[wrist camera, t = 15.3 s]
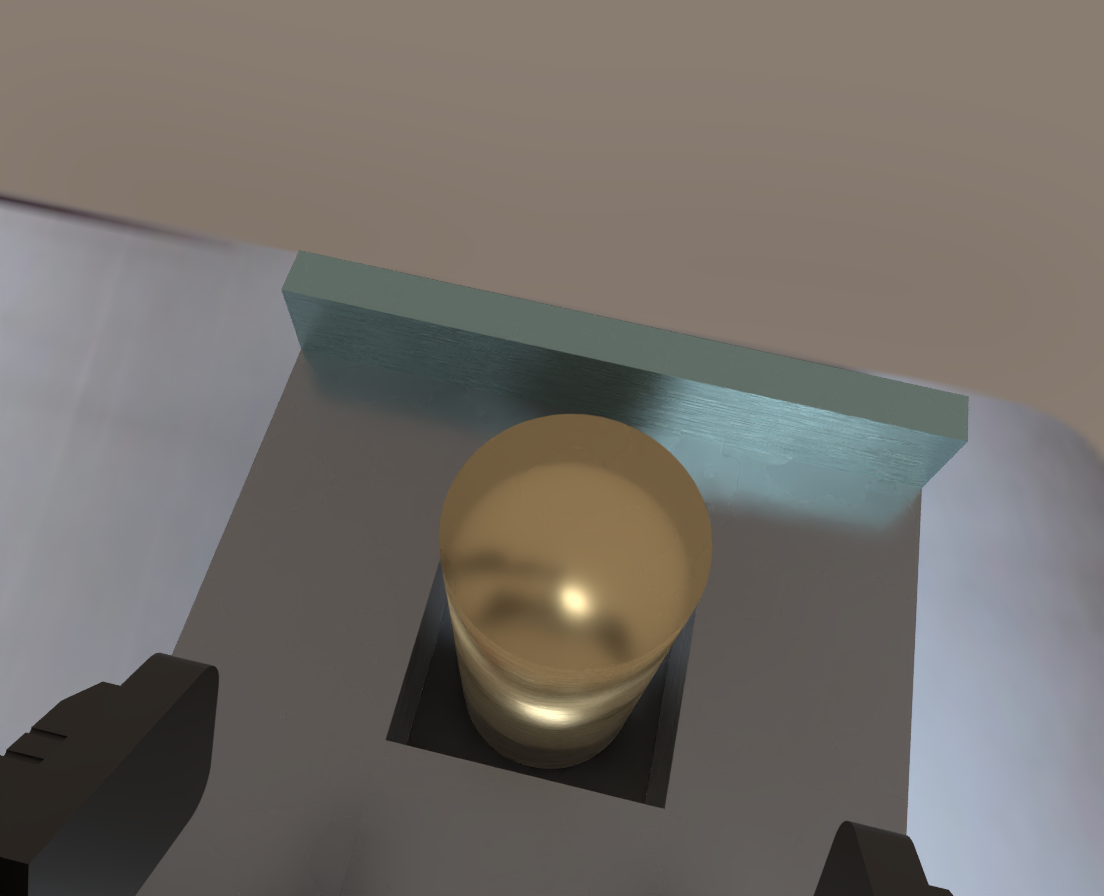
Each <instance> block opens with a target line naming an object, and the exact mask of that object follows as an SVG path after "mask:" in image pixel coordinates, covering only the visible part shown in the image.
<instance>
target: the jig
mask: <svg viewBox="0 0 1104 896" xmlns="http://www.w3.org/2000/svg"><path fill="white" fill-rule="evenodd" d="M282 292H283V295H284V298H285V301H286V304H287V307H288V310H289V313H290V316H291V319H292V322H293V325H294V328H295V331H296V334H297V337H298V340H299V343H300V346H301V348H302V349H301V351H300V354H299V356H298V358H297V361H296V363H295V366H294V368H293V370H292V373H291V375H290V377H289V380H288V382H287V384H286V387H285V389H284V392H283V394H282V396H281V399H280V401H279V403H278V406H277V408H276V410H275V413H274V415H273V418H272V420H271V422H270V425H269V427H268V429H267V432H266V434H265V436H264V439H263V441H262V444H261V446H260V448H259V451H258V453H257V455H256V458H255V460H254V462H253V465H252V467H251V470H250V472H249V474H248V477H247V479H246V481H245V484H244V486H243V488H242V491H241V493H240V496H239V498H238V500H237V503H236V505H235V507H234V510H233V512H232V514H231V517H230V519H229V522H228V524H227V526H226V529H225V531H224V533H223V536H222V538H221V540H220V543H219V545H218V548H217V550H216V552H215V555H214V557H213V559H212V562H211V564H210V566H209V569H208V571H207V574H206V576H205V578H204V581H203V583H202V585H201V588H200V590H199V592H198V595H197V597H196V600H195V602H194V604H193V607H192V609H191V611H190V614H189V616H188V618H187V621H186V623H185V626H184V628H183V630H182V633H181V635H180V637H179V640H178V642H177V644H176V647H175V649H174V651H173V654H172V656H175V657H179V658H183V659H188V660H192V661H196V662H200V663H204V664H208V665H212V666H215V667H216V668H217V669H218V673H219V688H218V698H217V709H216V719H215V729H214V739H213V749H212V759H211V768H210V773H209V777H208V781H207V785H206V788H205V791H204V793H203V796H202V798H201V801H200V803H199V805H198V807H197V809H196V811H195V813H194V814H193V816H192V818H191V819H190V821H189V822H188V823H187V825H186V826H185V827H184V829H183V830H182V832H181V833H180V834H179V836H178V837H177V839H176V840H175V841H174V843H173V844H172V846H171V847H170V848H169V850H168V851H167V852H166V854H165V855H164V857H163V858H162V859H161V861H160V862H159V864H158V865H157V866H156V868H155V869H154V870H153V872H152V873H151V875H150V876H149V877H148V879H147V880H146V882H145V883H144V884H143V886H142V887H141V889H140V890H139V891H138V893H137V894H136V895H135V896H813V895H814V893H815V890H816V887H817V884H818V882H819V879H820V876H821V873H822V870H823V868H824V865H825V862H826V859H827V857H828V854H829V851H830V848H831V845H832V843H833V840H834V837H835V835H836V832H837V830H838V828H839V826H840V825H841V824H842V823H843V822H844V821H851V822H855V823H859V824H863V825H867V826H871V827H875V828H880V829H884V830H888V831H892V832H896V833H900V834H904V835H906V830H907V808H908V785H909V763H910V740H911V718H912V695H913V673H914V650H915V628H916V605H917V583H918V560H919V538H920V516H921V493H922V487H923V486H924V485H925V484H926V483H927V482H928V481H929V480H930V479H931V478H932V477H933V476H934V475H935V474H936V473H937V472H938V471H939V470H940V469H941V468H942V467H943V466H944V465H945V464H946V463H947V462H948V461H949V460H950V459H951V458H952V457H953V456H954V455H955V454H956V453H957V452H958V451H959V450H960V449H961V448H962V447H963V446H964V445H965V444H966V443H967V442H968V396H964V395H959V394H954V393H950V392H945V391H941V390H936V389H932V388H927V387H922V386H918V385H913V384H909V383H904V382H900V381H895V380H890V379H886V378H881V377H877V376H872V375H868V374H863V373H858V372H854V371H849V370H845V369H840V368H836V367H831V366H826V365H822V364H817V363H813V362H808V361H804V360H799V359H794V358H790V357H785V356H781V355H776V354H772V353H767V352H762V351H758V350H753V349H749V348H744V347H740V346H735V345H730V344H726V343H721V342H717V341H712V340H708V339H703V338H698V337H694V336H689V335H685V334H680V333H676V332H671V331H666V330H662V329H657V328H653V327H648V326H644V325H639V324H634V323H630V322H625V321H621V320H616V319H612V318H607V317H602V316H598V315H593V314H589V313H584V312H579V311H575V310H570V309H566V308H561V307H557V306H552V305H547V304H543V303H538V302H534V301H529V300H525V299H520V298H515V297H511V296H506V295H502V294H497V293H493V292H488V291H483V290H479V289H474V288H470V287H465V286H461V285H456V284H451V283H447V282H442V281H438V280H433V279H429V278H424V277H419V276H415V275H410V274H406V273H401V272H397V271H392V270H387V269H383V268H378V267H374V266H369V265H365V264H360V263H355V262H351V261H346V260H342V259H337V258H333V257H328V256H323V255H319V254H314V253H309V252H305V251H301V250H299V252H298V254H297V257H296V259H295V261H294V263H293V265H292V268H291V270H290V272H289V274H288V277H287V279H286V281H285V283H284V285H283V288H282ZM560 414H584V415H592V416H598V417H604V418H607V419H611V420H615V421H618V422H621V423H623V424H626V425H628V426H631V427H633V428H635V429H637V430H639V431H641V432H643V433H644V434H646V435H648V436H650V437H651V438H653V439H654V440H655V441H657V442H658V443H660V444H661V445H662V446H664V447H665V448H666V449H667V450H668V451H669V452H670V453H671V454H672V455H674V456H675V457H676V458H677V460H678V461H679V462H680V463H681V464H682V465H683V467H684V468H685V469H686V470H687V472H688V473H689V475H690V476H691V478H692V479H693V481H694V482H695V484H696V486H697V488H698V490H699V492H700V494H701V496H702V498H703V500H704V503H705V506H706V509H707V512H708V515H709V520H710V525H711V530H712V546H713V548H712V560H711V567H710V571H709V576H708V580H707V583H706V586H705V588H704V591H703V593H702V596H701V598H700V600H699V602H698V603H697V605H696V607H695V609H694V610H693V612H692V614H691V615H690V617H689V619H688V620H687V622H686V624H685V625H684V627H683V629H682V630H681V632H680V634H679V635H678V637H677V638H676V640H675V642H674V643H673V645H672V647H671V651H670V657H669V663H668V669H667V675H666V680H665V686H664V692H663V698H662V704H661V710H660V716H659V722H658V728H657V734H656V740H655V745H654V751H653V757H652V763H651V769H650V775H649V781H648V787H647V793H646V799H645V804H642V803H638V802H634V801H630V800H626V799H622V798H618V797H614V796H610V795H606V794H602V793H598V792H594V791H589V790H585V789H581V788H577V787H573V786H569V785H565V784H561V783H557V782H553V781H549V780H545V779H541V778H537V777H533V776H529V775H525V774H521V773H517V772H513V771H509V770H505V769H500V768H496V767H492V766H488V765H484V764H480V763H476V762H472V761H468V760H464V759H460V758H456V757H452V756H448V755H444V754H440V753H436V752H432V751H428V750H424V749H420V748H416V747H411V746H407V741H408V738H409V734H410V731H411V727H412V724H413V721H414V717H415V714H416V710H417V707H418V703H419V700H420V696H421V693H422V690H423V686H424V683H425V679H426V676H427V672H428V669H429V665H430V662H431V659H432V655H433V652H434V648H435V645H436V641H437V638H438V634H439V631H440V628H441V624H442V621H443V617H444V614H445V610H446V607H447V603H448V600H447V594H446V588H445V582H444V577H443V571H442V565H441V559H440V553H439V525H440V517H441V513H442V509H443V504H444V501H445V499H446V496H447V494H448V491H449V488H450V486H451V485H452V483H453V481H454V479H455V477H456V475H457V474H458V472H459V471H460V470H461V468H462V467H463V466H464V464H465V463H466V461H467V460H468V459H469V458H470V457H471V456H472V455H473V454H474V453H475V452H476V451H477V450H478V449H479V448H480V447H481V446H483V445H484V444H485V443H486V442H488V441H489V440H490V439H491V438H493V437H495V436H496V435H498V434H500V433H501V432H503V431H505V430H506V429H509V428H511V427H513V426H515V425H517V424H520V423H522V422H526V421H529V420H532V419H535V418H540V417H545V416H550V415H560Z"/></svg>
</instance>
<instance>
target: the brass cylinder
mask: <svg viewBox="0 0 1104 896" xmlns="http://www.w3.org/2000/svg"><path fill="white" fill-rule="evenodd" d="M712 548H713V546H712V530H711V525H710V520H709V515H708V512H707V509H706V506H705V503H704V500H703V498H702V496H701V494H700V492H699V490H698V488H697V486H696V484H695V482H694V481H693V479H692V478H691V476H690V475H689V473H688V472H687V470H686V469H685V468H684V467H683V465H682V464H681V463H680V462H679V461H678V460H677V458H676V457H675V456H674V455H672V454H671V453H670V452H669V451H668V450H667V449H666V448H665V447H664V446H662V445H661V444H660V443H658V442H657V441H655V440H654V439H653V438H651V437H650V436H648V435H646V434H644V433H643V432H641V431H639V430H637V429H635V428H633V427H631V426H628V425H626V424H623V423H621V422H618V421H615V420H611V419H607V418H604V417H598V416H592V415H584V414H560V415H550V416H545V417H540V418H535V419H532V420H529V421H526V422H522V423H520V424H517V425H515V426H513V427H511V428H509V429H506V430H505V431H503V432H501V433H500V434H498V435H496V436H495V437H493V438H491V439H490V440H489V441H488V442H486V443H485V444H484V445H483V446H481V447H480V448H479V449H478V450H477V451H476V452H475V453H474V454H473V455H472V456H471V457H470V458H469V459H468V460H467V461H466V463H465V464H464V466H463V467H462V468H461V470H460V471H459V472H458V474H457V475H456V477H455V479H454V481H453V483H452V485H451V486H450V488H449V491H448V494H447V496H446V499H445V501H444V504H443V509H442V513H441V517H440V525H439V553H440V559H441V565H442V571H443V577H444V582H445V588H446V594H447V600H448V606H449V611H450V617H451V623H452V629H453V635H454V641H455V646H456V652H457V658H458V664H459V670H460V675H461V681H462V687H463V693H464V698H465V703H466V707H467V710H468V713H469V715H470V718H471V720H472V722H473V724H474V726H475V727H476V729H477V730H478V732H479V733H480V735H481V736H482V737H483V738H484V739H485V740H486V742H487V743H488V744H489V745H490V746H492V747H493V748H494V749H495V750H496V751H497V752H499V753H500V754H502V755H503V756H505V757H506V758H508V759H510V760H512V761H514V762H517V763H519V764H522V765H525V766H528V767H534V768H540V769H558V768H565V767H569V766H574V765H577V764H579V763H582V762H584V761H587V760H588V759H590V758H592V757H594V756H595V755H597V754H598V753H599V752H601V751H602V750H603V749H605V748H606V747H607V746H608V745H609V744H610V743H611V742H612V741H613V740H614V738H615V737H616V736H617V734H618V733H619V732H620V730H621V729H622V727H623V725H624V724H625V722H626V721H627V719H628V717H629V716H630V714H631V712H632V711H633V709H634V707H635V706H636V704H637V702H638V701H639V699H640V698H641V696H642V694H643V693H644V691H645V689H646V688H647V686H648V684H649V683H650V681H651V680H652V678H653V676H654V675H655V673H656V671H657V670H658V668H659V666H660V665H661V663H662V661H663V660H664V658H665V657H666V655H667V653H668V652H669V650H670V648H671V647H672V645H673V643H674V642H675V640H676V638H677V637H678V635H679V634H680V632H681V630H682V629H683V627H684V625H685V624H686V622H687V620H688V619H689V617H690V615H691V614H692V612H693V610H694V609H695V607H696V605H697V603H698V602H699V600H700V598H701V596H702V593H703V591H704V588H705V586H706V583H707V580H708V576H709V571H710V567H711V560H712Z"/></svg>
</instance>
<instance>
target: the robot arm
mask: <svg viewBox="0 0 1104 896" xmlns="http://www.w3.org/2000/svg"><path fill="white" fill-rule="evenodd" d="M218 688H219V673H218V669H217V668H216V667H215V666H212V665H208V664H204V663H200V662H196V661H192V660H188V659H183V658H179V657H175V656H171V655H167V654H163V653H156V654H154V655H152V656H151V657H150V658H149V659H148V660H147V661H146V662H145V663H144V664H143V665H142V666H140V667H139V668H138V669H137V670H136V671H135V672H134V673H133V674H132V675H131V676H130V677H129V678H128V679H127V680H126V681H125V682H124V683H123V684H122V685H121V686H119V685H115V684H110V683H106V682H101V683H99V684H97V685H95V686H92V687H90V688H88V689H86V690H84V691H81V692H79V693H77V694H75V695H73V696H71V697H68V698H66V699H64V700H62V701H61V702H59V703H58V704H57V705H56V706H55V707H54V708H53V709H52V710H50V711H49V712H48V713H47V714H46V715H45V716H44V717H43V718H41V719H40V720H39V721H38V722H37V723H36V724H35V725H34V726H33V727H32V728H31V731H30V733H25V734H24V735H22V736H21V737H20V738H19V739H18V740H17V741H16V742H15V743H13V744H12V745H11V746H10V747H9V748H8V749H7V751H6V753H5V755H4V756H1V755H0V896H135V895H136V894H137V893H138V891H139V890H140V889H141V887H142V886H143V884H144V883H145V882H146V880H147V879H148V877H149V876H150V875H151V873H152V872H153V870H154V869H155V868H156V866H157V865H158V864H159V862H160V861H161V859H162V858H163V857H164V855H165V854H166V852H167V851H168V850H169V848H170V847H171V846H172V844H173V843H174V841H175V840H176V839H177V837H178V836H179V834H180V833H181V832H182V830H183V829H184V827H185V826H186V825H187V823H188V822H189V821H190V819H191V818H192V816H193V814H194V813H195V811H196V809H197V807H198V805H199V803H200V801H201V798H202V796H203V793H204V791H205V788H206V785H207V781H208V777H209V773H210V768H211V759H212V749H213V739H214V729H215V719H216V709H217V698H218ZM813 896H953V895H952V893H951V892H950V891H949V890H947V889H943V888H938V887H934V886H930V885H929V884H928V882H927V879H926V876H925V874H924V871H923V868H922V866H921V863H920V860H919V858H918V855H917V852H916V849H915V847H914V844H913V842H912V840H911V839H910V837H908V836H907V835H904V834H900V833H896V832H892V831H888V830H884V829H880V828H875V827H871V826H867V825H863V824H859V823H855V822H851V821H844V822H843V823H842V824H841V825H840V826H839V828H838V830H837V832H836V835H835V837H834V840H833V843H832V845H831V848H830V851H829V854H828V857H827V859H826V862H825V865H824V868H823V870H822V873H821V876H820V879H819V882H818V884H817V887H816V890H815V893H814V895H813Z"/></svg>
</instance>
